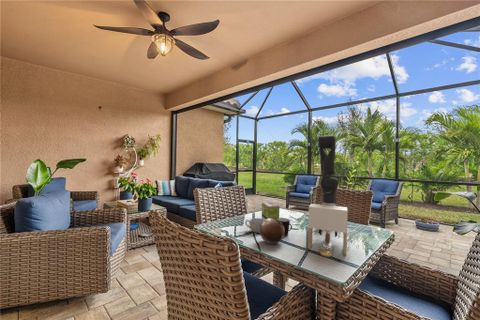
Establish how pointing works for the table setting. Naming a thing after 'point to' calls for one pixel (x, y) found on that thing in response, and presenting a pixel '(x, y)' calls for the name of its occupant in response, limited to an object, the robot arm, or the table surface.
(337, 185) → the robot arm
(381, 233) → the table surface
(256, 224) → the teacup
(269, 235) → the wooden sphere
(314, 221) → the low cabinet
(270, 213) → the tea box
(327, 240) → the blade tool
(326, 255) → the brass puck
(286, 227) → the coffee mug
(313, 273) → the table surface
